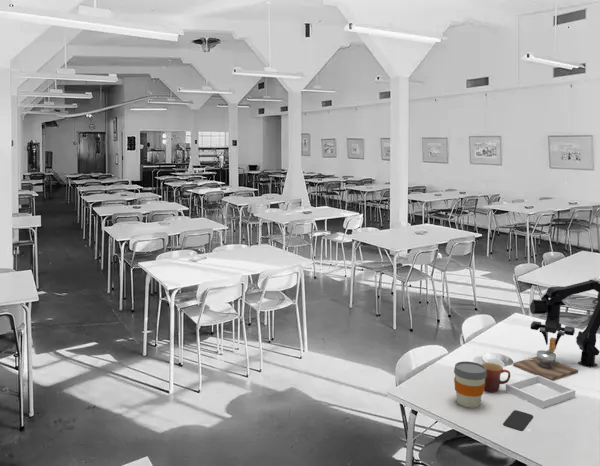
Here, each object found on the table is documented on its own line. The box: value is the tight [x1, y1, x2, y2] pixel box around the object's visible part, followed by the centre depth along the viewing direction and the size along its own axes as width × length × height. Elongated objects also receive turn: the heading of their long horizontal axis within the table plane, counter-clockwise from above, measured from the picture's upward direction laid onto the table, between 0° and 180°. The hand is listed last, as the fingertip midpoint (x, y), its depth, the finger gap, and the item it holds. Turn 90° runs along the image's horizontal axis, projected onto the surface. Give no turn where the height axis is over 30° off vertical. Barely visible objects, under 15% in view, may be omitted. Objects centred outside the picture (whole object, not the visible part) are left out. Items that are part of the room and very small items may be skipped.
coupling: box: [536, 337, 557, 363], centre depth 258 cm, size 14×8×8 cm, turn 138°
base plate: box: [512, 356, 579, 381], centre depth 256 cm, size 20×20×4 cm
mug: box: [480, 362, 511, 393], centre depth 232 cm, size 12×9×10 cm
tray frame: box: [504, 375, 576, 409], centre depth 230 cm, size 21×18×3 cm
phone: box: [502, 409, 534, 432], centre depth 206 cm, size 7×1×15 cm
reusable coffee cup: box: [453, 360, 487, 409], centre depth 220 cm, size 13×13×15 cm
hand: (551, 345), depth 262 cm, fingers open, 3 cm apart
